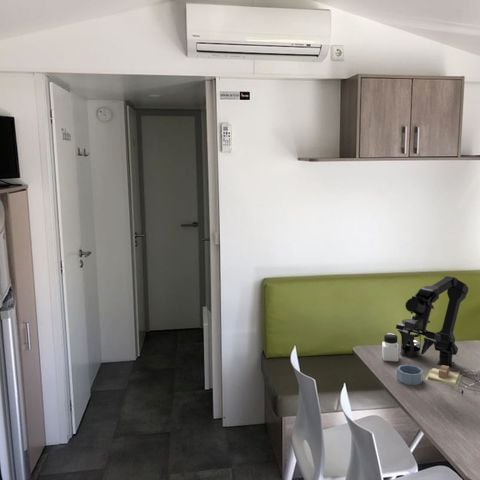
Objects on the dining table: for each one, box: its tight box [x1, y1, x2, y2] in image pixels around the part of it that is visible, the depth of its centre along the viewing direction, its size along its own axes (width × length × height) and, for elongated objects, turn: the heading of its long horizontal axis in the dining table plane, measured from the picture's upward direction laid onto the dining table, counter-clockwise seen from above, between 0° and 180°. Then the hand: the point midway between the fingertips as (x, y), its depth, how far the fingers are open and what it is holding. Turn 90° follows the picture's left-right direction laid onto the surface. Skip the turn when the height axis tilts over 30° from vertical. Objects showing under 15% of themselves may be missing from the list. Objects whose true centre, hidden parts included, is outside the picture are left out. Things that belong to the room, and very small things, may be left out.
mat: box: [424, 368, 463, 387], centre depth 208 cm, size 13×13×1 cm
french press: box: [399, 309, 422, 359], centre depth 233 cm, size 12×9×23 cm
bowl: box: [396, 364, 424, 386], centre depth 205 cm, size 10×10×5 cm
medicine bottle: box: [381, 333, 400, 362], centre depth 229 cm, size 7×7×12 cm
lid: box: [428, 365, 460, 385], centre depth 207 cm, size 11×11×4 cm
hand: (412, 351), depth 204 cm, fingers open, 9 cm apart
